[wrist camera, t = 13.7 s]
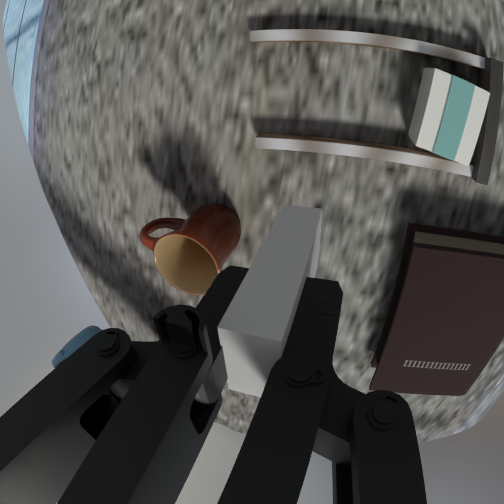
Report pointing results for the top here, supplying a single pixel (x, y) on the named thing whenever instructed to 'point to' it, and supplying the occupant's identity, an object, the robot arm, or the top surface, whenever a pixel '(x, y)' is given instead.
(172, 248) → the mug
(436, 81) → the block
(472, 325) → the book
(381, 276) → the top surface
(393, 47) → the rail board
